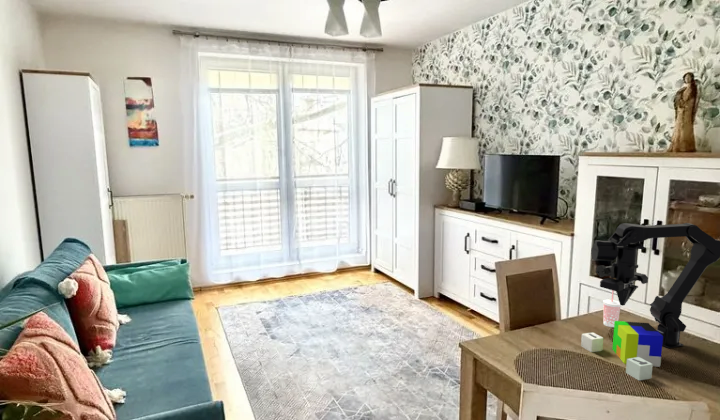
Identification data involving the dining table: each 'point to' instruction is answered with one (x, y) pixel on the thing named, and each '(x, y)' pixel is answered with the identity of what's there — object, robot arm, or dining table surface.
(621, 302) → the robot arm
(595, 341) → the digit block one
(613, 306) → the beverage cup
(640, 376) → the digit block seven
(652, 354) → the puzzle toy
